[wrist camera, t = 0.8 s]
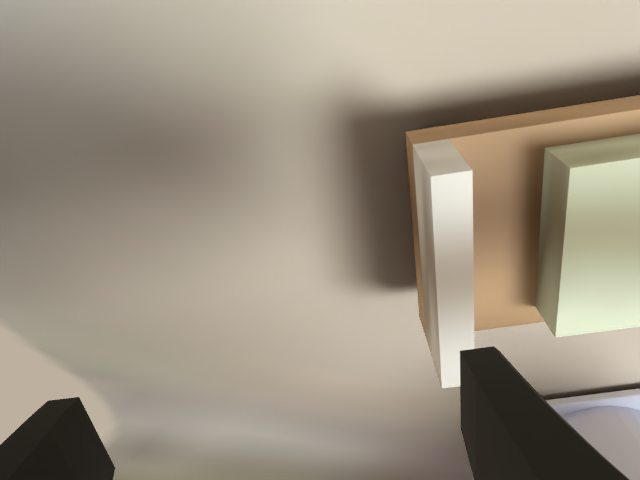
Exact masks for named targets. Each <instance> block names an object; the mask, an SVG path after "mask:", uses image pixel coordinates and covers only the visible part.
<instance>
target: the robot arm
mask: <svg viewBox="0 0 640 480" xmlns="http://www.w3.org/2000/svg"><path fill="white" fill-rule="evenodd" d="M460 396H461V431H462V434H463V438H464V442H465V446H466V450H467V454H468V458H469V461H470V465H471V469H472V472H473V476H474V480H640V388H639V389H631V390H623V391H615V392H607V393H599V394H591V395H583V396H575V397H567V398H559V399H551V400H544V399H543V398H542V396H541V395H540V394H539V393H538V392H537V391H536V390H535V389H534V388H533V387H532V386H531V385H530V384H529V383H528V382H527V381H526V380H525V379H524V378H523V377H522V375H521V374H520V373H519V372H518V371H517V370H516V369H515V368H514V367H513V366H512V365H511V363H510V362H509V361H508V360H507V359H506V358H505V357H504V356H503V354H502V353H501V352H500V351H499V350H497V349H496V348H495V347H486V348H478V349H470V350H462V351H460ZM114 471H115V467H114V465H113V463H112V461H111V459H110V457H109V455H108V453H107V451H106V449H105V447H104V445H103V443H102V441H101V439H100V438H99V436H98V434H97V432H96V430H95V428H94V426H93V424H92V422H91V420H90V418H89V416H88V414H87V412H86V410H85V408H84V406H83V404H82V402H81V400H80V398H79V397H76V398H68V399H60V400H52V401H48V402H46V403H45V404H44V405H43V406H42V407H41V408H39V409H38V410H37V411H36V412H35V413H34V414H33V415H32V416H31V417H29V418H28V419H27V421H25V422H24V423H23V424H22V425H21V426H20V427H19V428H18V429H17V430H16V431H15V432H14V433H13V434H11V436H9V437H8V438H7V439H6V440H5V441H4V442H3V443H2V444H1V445H0V480H113V475H114Z"/></svg>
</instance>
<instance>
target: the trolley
mask: <svg viewBox="0 0 640 480" xmlns="http://www.w3.org/2000/svg"><path fill="white" fill-rule="evenodd" d="M405 133H406V146H407V159H408V172H409V185H410V199H411V212H412V225H413V238H414V251H415V264H416V277H417V291H418V304H419V316H420V320H421V323H422V326H423V329H424V332H425V336H426V339H427V342H428V345H429V348H430V352H431V355H432V358H433V361H434V365H435V368H436V371H437V374H438V377H439V381H440V384H441V387H442V388H450V387H458V386H460V351H462V350H470V349H475V347H474V331H478V330H485V329H493V328H500V327H508V326H515V325H523V324H530V323H538V322H546V324H547V325H548V327H549V328H550V330H551V332H552V333H553V335H554V336H555V338H556V337H563V336H571V335H579V334H586V333H594V332H601V331H609V330H617V329H624V328H632V327H639V326H640V95H637V96H631V97H624V98H618V99H611V100H605V101H599V102H592V103H586V104H580V105H573V106H567V107H560V108H554V109H548V110H541V111H535V112H528V113H522V114H516V115H509V116H503V117H496V118H490V119H484V120H477V121H471V122H465V123H458V124H452V125H445V126H440V125H432V126H428V127H426V128H424V129H420V130H413V131H407V132H405Z"/></svg>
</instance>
